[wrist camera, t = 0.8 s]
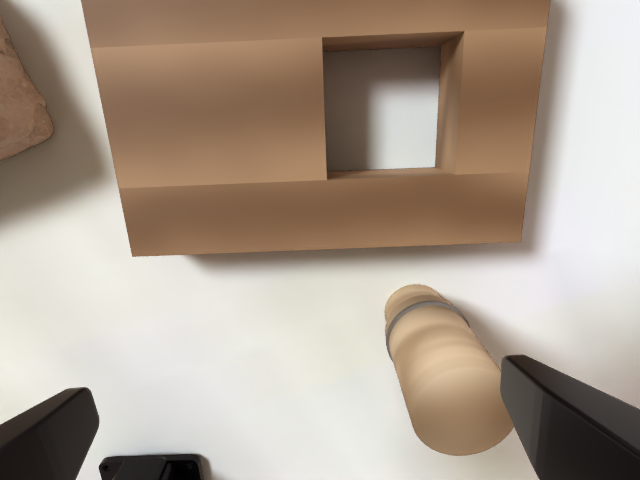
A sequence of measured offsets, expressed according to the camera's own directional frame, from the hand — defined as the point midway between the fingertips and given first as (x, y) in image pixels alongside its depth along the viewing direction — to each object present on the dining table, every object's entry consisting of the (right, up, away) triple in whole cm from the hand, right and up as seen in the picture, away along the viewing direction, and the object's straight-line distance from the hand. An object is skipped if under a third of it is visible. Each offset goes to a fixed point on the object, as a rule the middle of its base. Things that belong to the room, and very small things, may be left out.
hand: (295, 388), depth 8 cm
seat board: (+1, +9, +10) cm, 14 cm away
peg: (+6, -1, +13) cm, 15 cm away
